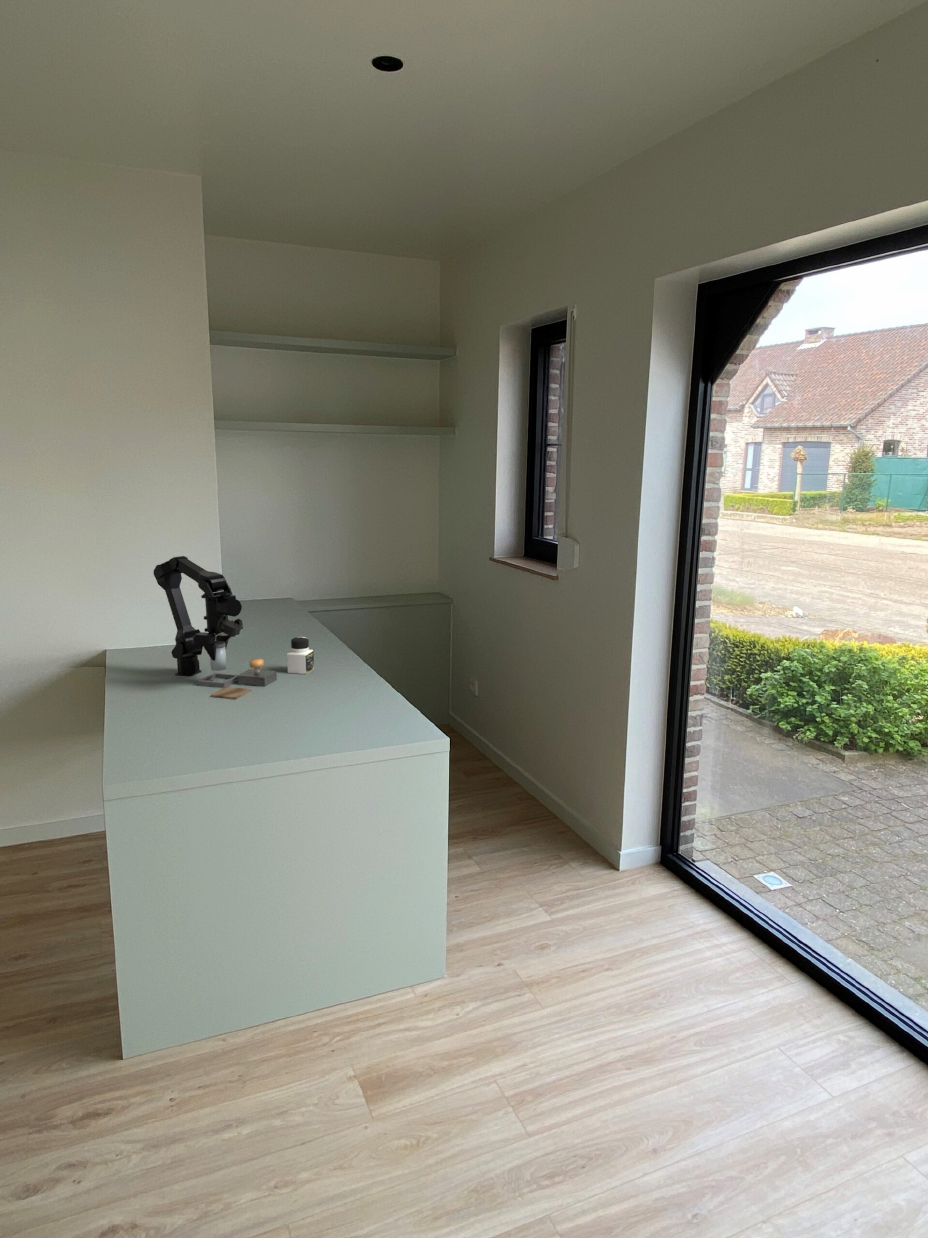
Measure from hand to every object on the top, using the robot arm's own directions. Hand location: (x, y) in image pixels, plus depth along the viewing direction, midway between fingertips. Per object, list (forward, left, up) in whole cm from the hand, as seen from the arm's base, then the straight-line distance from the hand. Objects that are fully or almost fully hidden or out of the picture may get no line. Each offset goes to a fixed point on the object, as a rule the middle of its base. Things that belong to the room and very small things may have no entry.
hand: (218, 658), depth 266 cm
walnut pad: (+10, -10, -8) cm, 17 cm away
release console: (+12, +4, -8) cm, 15 cm away
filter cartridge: (0, 0, -4) cm, 4 cm away
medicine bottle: (+20, +20, -9) cm, 30 cm away
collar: (0, 0, -8) cm, 8 cm away
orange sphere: (+12, +4, -5) cm, 14 cm away
